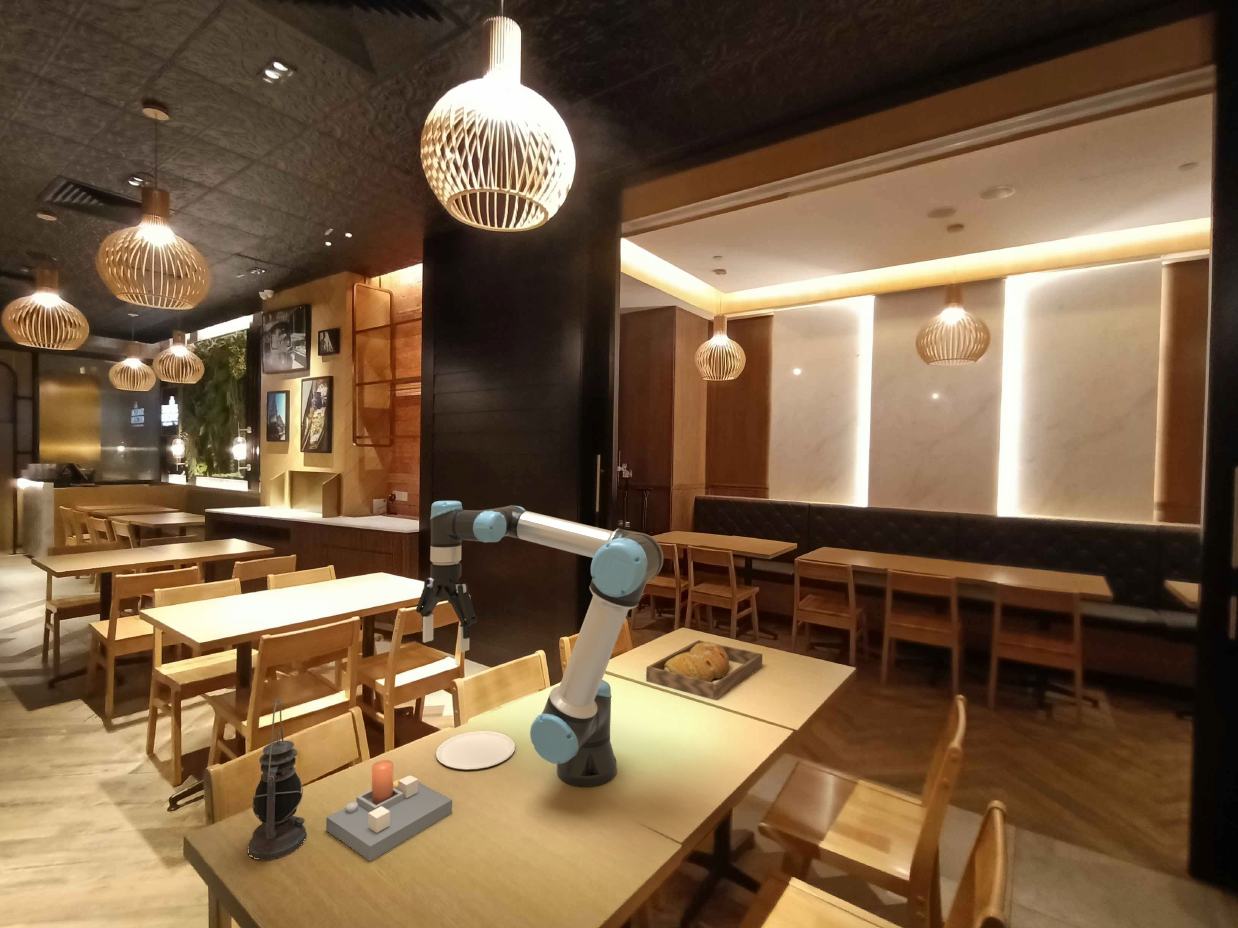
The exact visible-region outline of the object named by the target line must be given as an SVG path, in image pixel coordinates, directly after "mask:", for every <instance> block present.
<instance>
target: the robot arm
mask: <svg viewBox="0 0 1238 928" xmlns="http://www.w3.org/2000/svg"><path fill="white" fill-rule="evenodd" d="M462 504H463V503H462V502H461V501H459V500H438V501H434V502H433V503H432V504H431V511H430V518H429V520H430V555H429V557H430V558H429V560H430V562H431V564H430V577H428V578H425V579H424V581H423V582H424V583H423V588H422V592H421V594H420V597H419V600H418V602H417V603H418V604H417V606H416V610H415V612H416V613H419V614H420V616H421V627H422V643H427V642H432V641H434V612H433V611H434V609H435V608H436V606H437V605H438V603H439V602H440V600H444V601H447V602H448V603H449V604H451V607H452V608H453V610H454V613H455V614H456V616H457V618H458V620H459V622H460V625H458V653H460V654H461V653H464V652H466V651H467V652H468V651H470V638H472V637H471V633H472V632H471V630H472V624H476V623H478V618H477V614H476V611H475V609H474V604H473V602H472V599H471V595H470V592H469V585H468V583H463V584H460V583H459V580H460V578H461V576H462V563H461V562H460V561H461V560H462V542H463V541H471V542H483V543H497V542H500V541H501V540H502V538H504V537H511V538H515V539H519V540H524V541H527V542H531V543H535V544H537V545H543V546H546V547H550V548H555V549H558V550H561V551H564V552H565V551H566V552H569V553H573V554H577V555H579V556H585V557H589V558H592V560H591V564H590V576H591V577H592V578H591V581H590V582H591V583H590V585H589V591H590V593H591V594H592V597H591V601H590V604H589V606H588V609H587V610H586V611H587V612H586V614H585V617H584V619H583V623H582V624H581V628H580V630H579V633H578V636H577V639H576V641H575V644H574V647H573V649H572V652H571V655H570V658H569V660H568V663H567V666H566V668H565V671H564V673H563V676H562V679H561V682H560V684H559V685H558V686H555V687H553V688H552V689H551V691H550V692H549V694H548V698H547V700H546V703H545V705H544V709H543V710H542V713H541V714H539V715H537V716H536V717H535V719H534V720H533V722H532V724H531V726H530V729H529V738H530V741H531V743H532V745H533V747H534V750H535V752H536V753H537V755H538V756H540V757H541V758H542V759H543V760H544V761H546V762H549V763H551V764H555V765H556V774H557V776H558V778H559V779H560V780H561V781H563V782H564V783H567V784H568V785H572V786H575V787H583V788H584V787H587V788H590V787H597V786H601V785H604V784H606V783H608V782H610V781H611V780H612V779H614V777H616V775H617V770H618V769H617V766H618V764H617V759H616V756H615V754H614V749H613V745H612V743H611V720H612V719H611V715H612V712H611V711H612V704H611V703H612V690H611V685H610V684H609V682H608V681H606V680H604V679H603V678H604V676H605V673H606V671H607V668H608V666H609V662H610V659H611V657H612V655H613V652H614V649H615V647H616V644H617V641H618V639H619V636H620V633H621V631H622V628H623V625H624V623H625V621H626V618H627V615H628V613H629V611H630V610H632V609H634V608H636V607H638V605H639V604H640V601H641V598H642V595H643V593H644V590H645V587H646V585H647V583H648V582H650V581H652V580H653V579H654V578H655V577H657V576H658V574H659V573H660V572H661V569H662V567H663V565H664V552H663V550H662V547H661V545H660V543H659V542H658V541H657V540H656V539H655V538H654V537H653V536H651V535H650V534H646V533H645V532H644V533H643V532H637V531H633V530H626V529H623V528H617V529H616V530H614V531H613V530H610V529H609V530H608V529H605V528H600V527H595V526H592V525H587V524H583V523H579V522H575V521H572V520H567V519H563V518H558V517H553V516H550V515H544V514H541V513H537V512H532V511H528V510H526V509H525V508H524V507H522V506H518V505H508V506H502V507H496V508H490V509H483V510H475V509H474V510H473V509H472V510H471V509H470V510H467V509H463V506H462Z"/></svg>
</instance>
